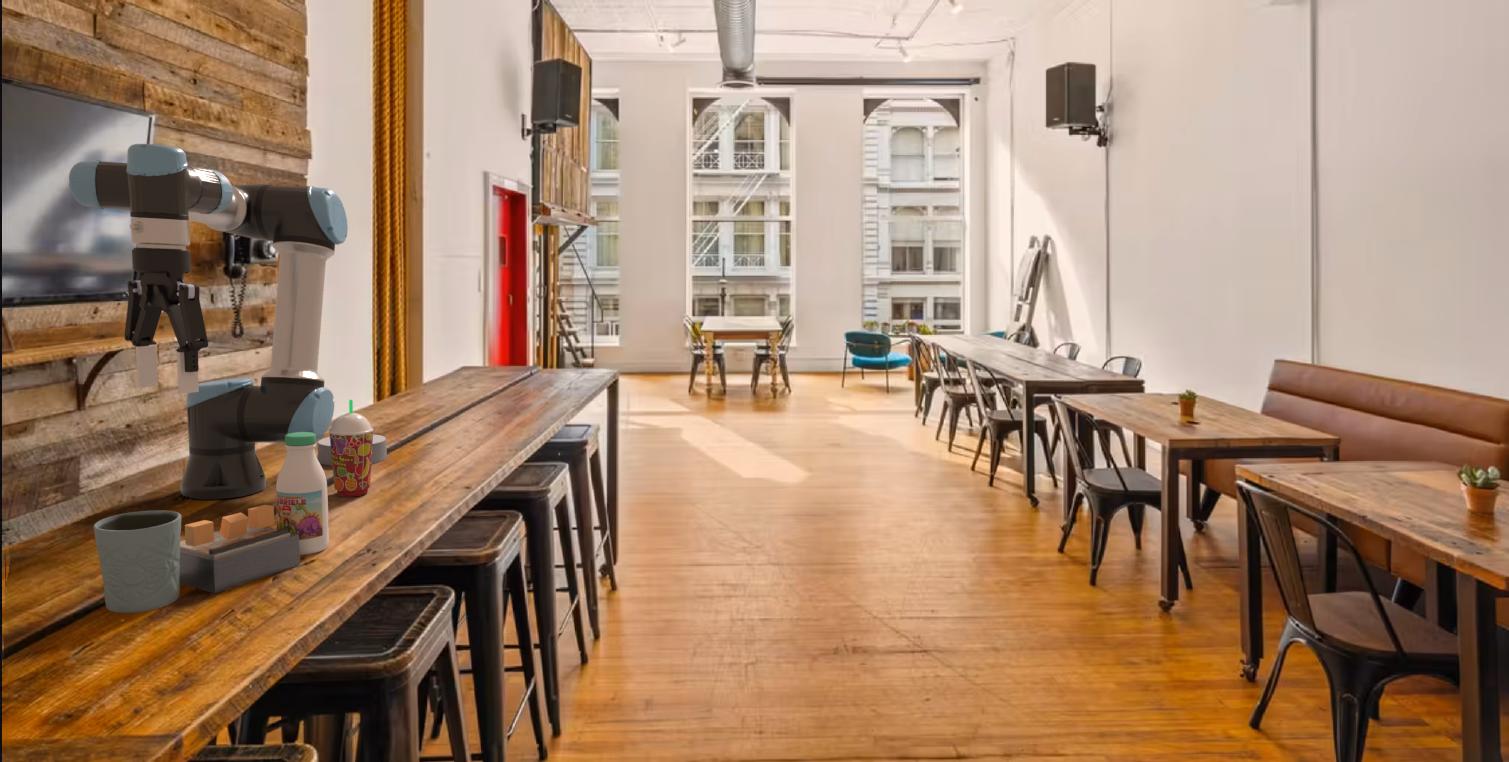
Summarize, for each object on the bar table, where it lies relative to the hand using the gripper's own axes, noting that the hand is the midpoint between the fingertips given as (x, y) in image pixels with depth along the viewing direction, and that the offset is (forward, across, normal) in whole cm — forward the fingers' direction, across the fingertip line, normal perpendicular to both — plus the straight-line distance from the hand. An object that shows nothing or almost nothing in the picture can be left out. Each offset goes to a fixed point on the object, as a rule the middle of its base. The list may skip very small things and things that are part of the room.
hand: (168, 389), depth 136 cm
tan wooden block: (+22, +14, +5) cm, 27 cm away
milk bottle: (+28, +14, +12) cm, 34 cm away
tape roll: (+28, -32, +63) cm, 76 cm away
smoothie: (+28, -7, +41) cm, 50 cm away
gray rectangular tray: (+28, +14, 0) cm, 31 cm away
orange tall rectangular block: (+22, +14, -5) cm, 27 cm away
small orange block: (+22, +14, 0) cm, 26 cm away
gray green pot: (+28, +14, -14) cm, 34 cm away
